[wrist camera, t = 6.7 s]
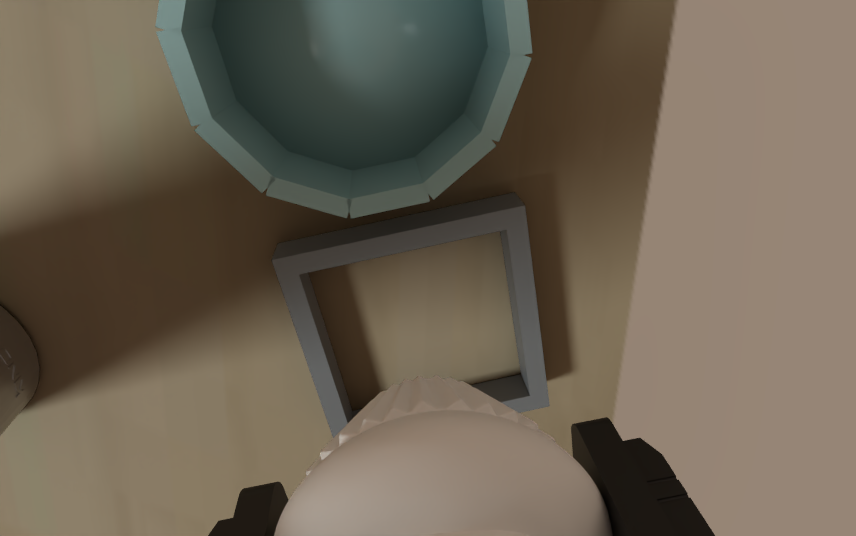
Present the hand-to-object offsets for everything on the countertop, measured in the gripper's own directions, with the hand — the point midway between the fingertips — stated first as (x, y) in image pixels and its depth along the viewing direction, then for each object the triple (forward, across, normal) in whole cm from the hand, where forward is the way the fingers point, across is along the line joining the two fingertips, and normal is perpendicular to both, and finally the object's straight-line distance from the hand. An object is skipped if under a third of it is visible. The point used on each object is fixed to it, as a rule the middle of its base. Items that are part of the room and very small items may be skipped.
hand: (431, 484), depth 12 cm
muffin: (+2, 0, 0) cm, 2 cm away
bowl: (+18, 0, -8) cm, 19 cm away
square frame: (+18, 0, +6) cm, 19 cm away
